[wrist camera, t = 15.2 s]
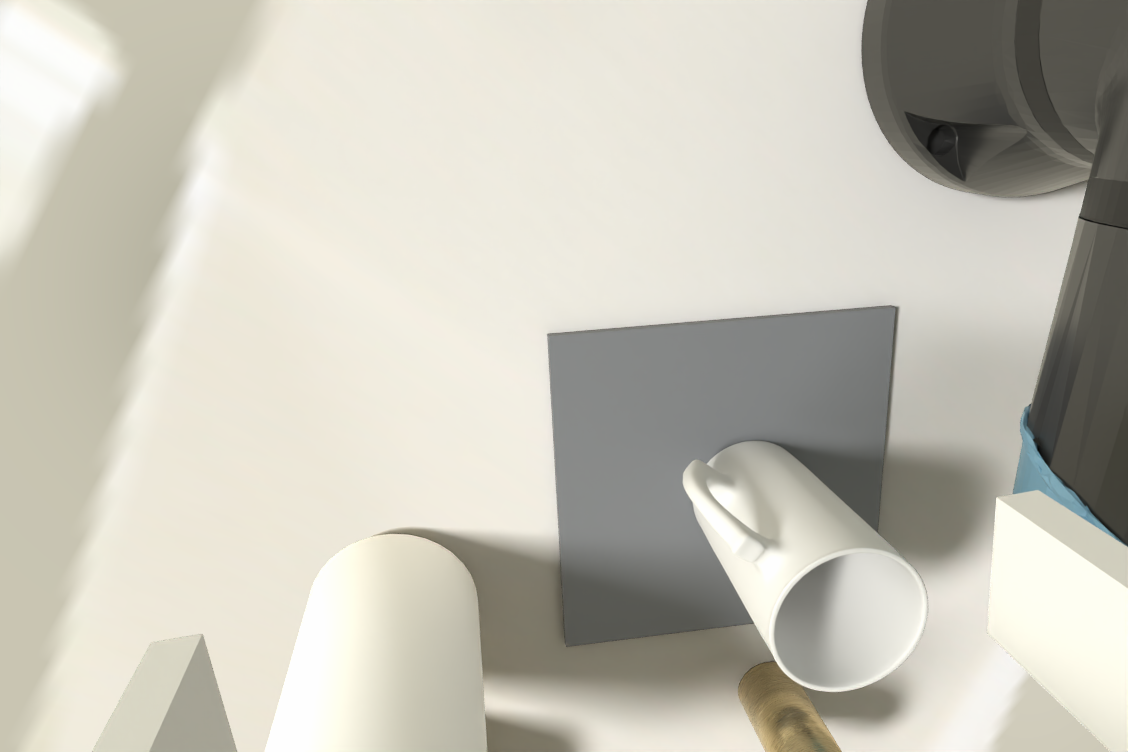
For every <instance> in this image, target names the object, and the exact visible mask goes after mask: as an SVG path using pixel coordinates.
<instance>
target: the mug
mask: <svg viewBox="0 0 1128 752" xmlns="http://www.w3.org/2000/svg"><path fill="white" fill-rule="evenodd" d="M683 486H684V489H685V491H686V493H687V494H688V496H689V498H690V499H691V501H692V502H693V508H694V513H695V516H696V519H697V521H698V523H699V525H700V526H701V528H702V530H703V532H704V534H705V536H706V537H707V539H708V541H709V543H710V545H711V547H712V549H713V550H714V552H715V554H716V556H717V557H718V559H719V561H720V563H721V564H722V566H723V568H724V570H725V572H726V573H727V575H728V577H729V579H730V581H731V582H732V584H733V586H734V588H735V590H736V591H737V593H738V595H739V597H740V599H741V600H742V602H743V604H744V606H745V608H746V609H747V611H748V613H749V615H750V617H751V618H752V620H753V622H754V624H755V626H756V627H757V629H758V631H759V633H760V634H761V636H762V638H763V639H764V641H765V643H766V644H767V646H768V648H769V649H770V651H771V652H772V654H773V657H774V659H775V661H776V662H777V664H778V666H779V667H780V668H781V670H782V671H783V672H784V673H785V674H786V675H787V676H788V677H789V678H791V679H792V680H793V681H795V682H797V683H798V684H800V685H802V686H805V687H807V688H810V689H814V690H818V691H825V692H843V691H850V690H854V689H858V688H862V687H865V686H867V685H870V684H872V683H874V682H876V681H878V680H880V679H882V678H884V677H885V676H887V675H888V674H890V673H891V672H893V671H894V670H895V669H897V668H898V667H899V666H900V665H901V664H902V663H903V662H904V661H905V660H906V659H907V658H908V657H909V656H910V654H911V653H912V652H913V650H914V649H915V647H916V646H917V644H918V642H919V640H920V638H921V636H922V634H923V631H924V628H925V625H926V621H927V616H928V597H927V592H926V588H925V585H924V583H923V581H922V579H921V577H920V575H919V574H918V572H917V571H916V570H915V569H914V568H913V566H912V565H911V564H909V563H908V562H907V561H906V560H905V559H904V558H903V557H902V556H901V555H900V554H899V553H898V552H897V551H896V550H895V549H894V548H893V547H892V546H891V545H890V544H889V543H888V542H887V541H886V540H885V539H884V538H882V537H881V536H880V535H879V534H878V533H877V532H876V531H875V530H874V529H873V528H872V527H870V526H869V525H868V524H867V523H866V522H865V521H864V520H863V519H862V518H861V517H860V516H858V515H857V514H856V513H855V512H854V511H853V510H852V509H851V508H850V507H849V506H848V505H846V504H845V503H844V502H843V501H842V500H841V499H840V498H839V497H838V496H837V495H836V494H834V493H833V492H832V491H831V490H830V489H829V488H828V487H827V486H826V485H825V484H824V483H823V482H821V481H820V480H819V479H818V478H817V477H816V476H815V475H814V474H813V473H812V472H811V471H810V470H809V469H808V468H806V467H805V466H804V465H803V464H802V463H801V462H800V461H798V460H797V459H796V458H795V457H794V456H793V455H791V454H790V453H789V452H788V451H786V450H785V449H783V448H782V447H780V446H778V445H775V444H773V443H769V442H765V441H745V442H741V443H737V444H734V445H732V446H729V447H727V448H725V449H724V450H722V451H720V452H719V453H718V454H716V455H715V456H714V457H713V458H712V459H711V460H710V461H709V462H708V463H707V464H706V463H704V462H702V461H700V460H693V461H692V462H691V463H690V464H689V466H688V467H687V468H686V469H685V471H684V473H683Z"/></svg>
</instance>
